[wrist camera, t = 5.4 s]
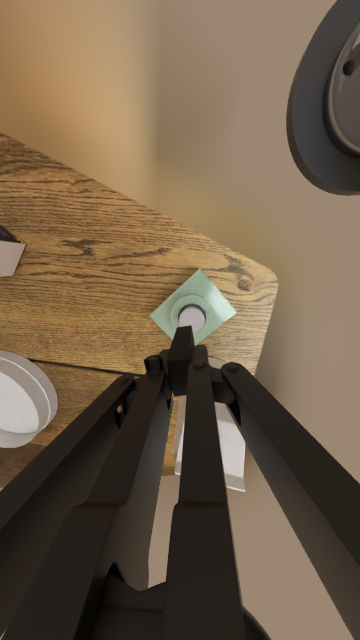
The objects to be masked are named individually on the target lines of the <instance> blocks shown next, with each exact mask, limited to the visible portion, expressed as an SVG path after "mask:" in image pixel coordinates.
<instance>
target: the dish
mask: <svg viewBox="0 0 360 640" xmlns="http://www.w3.org/2000/svg"><path fill="white" fill-rule="evenodd" d="M57 407H58V400H57V394H56V391H55V389H54V386H53V384H52V383H51V381H50V380H49V378H48V377H47V375H46V374H45V373H44V372H43V371H42V370H41V369H40V368H39V367H38V366H37V365H35V364H34V363H32V362H31V361H29V360H28V359H26V358H25V357H23V356H20V355H17V354H15V353H12V352H8V351H1V350H0V447H3V448H16V447H19V446H22V445H25V444H27V443H28V442H30V441H31V440H33V438H34V437H35V436H36V435H37V434H38V433H39V432H40V431H41V430H43V429H44V428H45V427H46V426H47V425H48V424H49V423H50V422H51V420H52V419H53V417H54V416H55V414H56V412H57Z"/></svg>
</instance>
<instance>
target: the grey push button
mask: <svg viewBox="0 0 360 640" xmlns="http://www.w3.org/2000/svg"><path fill="white" fill-rule="evenodd" d="M179 323H180V326H181V327H183V326H190V325H192V331H193V332H197V331H199V330H200V329H202V327H203V326H204V323H205V318H204V313H203V311H202V310H201V309H200V308H199V307H198V306H195V305H190V306H187V307H185V308H184V309H183V310H182V311H181V314H180V317H179Z"/></svg>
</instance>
